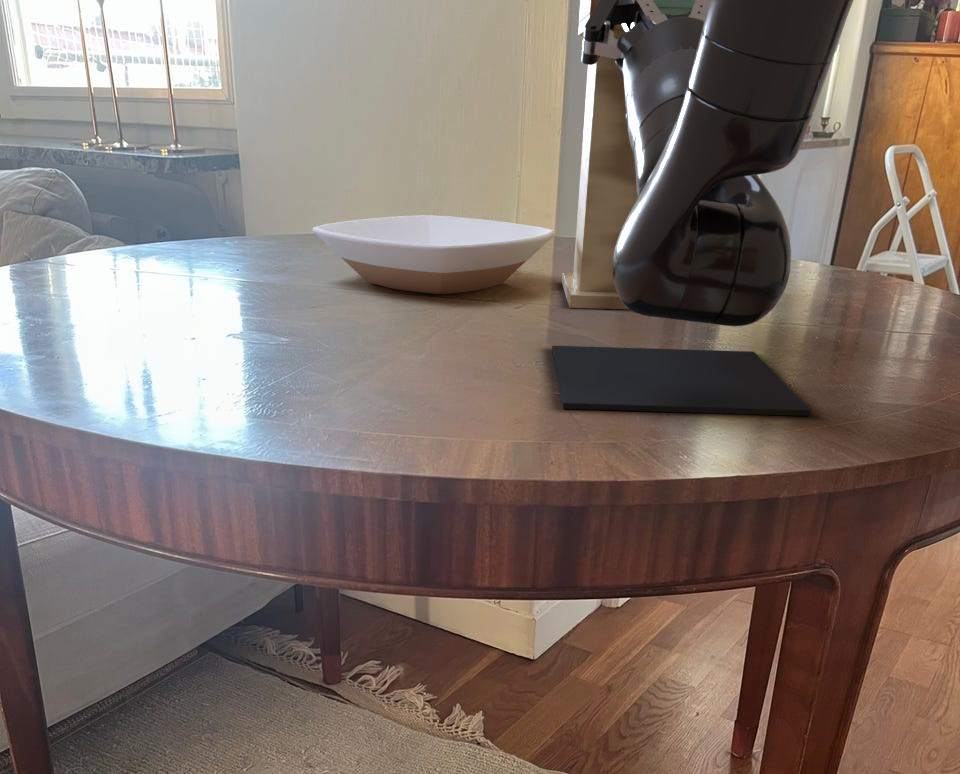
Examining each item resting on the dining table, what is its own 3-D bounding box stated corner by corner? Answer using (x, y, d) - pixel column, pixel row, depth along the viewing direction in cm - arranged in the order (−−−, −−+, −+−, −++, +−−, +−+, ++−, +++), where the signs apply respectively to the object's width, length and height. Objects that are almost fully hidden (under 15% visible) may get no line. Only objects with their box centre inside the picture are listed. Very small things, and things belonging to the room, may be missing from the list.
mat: (753, 356, 75) (754, 351, 75) (809, 416, 62) (810, 410, 61) (551, 350, 76) (552, 345, 75) (563, 408, 62) (563, 402, 61)
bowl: (446, 311, 88) (446, 250, 85) (288, 281, 99) (284, 226, 96) (577, 283, 102) (581, 230, 100) (426, 260, 114) (426, 212, 111)
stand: (664, 286, 102) (698, -6, 89) (684, 311, 91) (727, -20, 78) (561, 283, 102) (580, -9, 89) (569, 307, 91) (592, -24, 78)
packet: (659, 24, 89) (661, 4, 88) (697, 8, 72) (700, -17, 71) (616, 23, 89) (618, 3, 88) (645, 7, 72) (647, -19, 71)
